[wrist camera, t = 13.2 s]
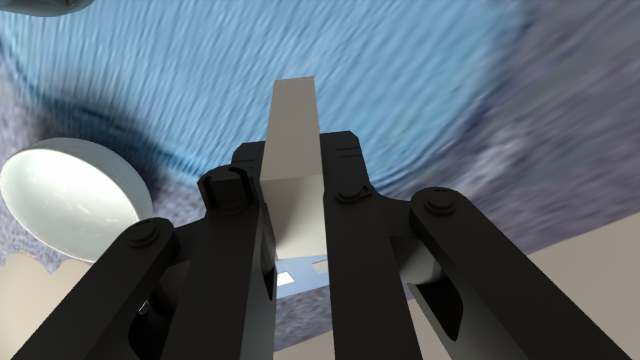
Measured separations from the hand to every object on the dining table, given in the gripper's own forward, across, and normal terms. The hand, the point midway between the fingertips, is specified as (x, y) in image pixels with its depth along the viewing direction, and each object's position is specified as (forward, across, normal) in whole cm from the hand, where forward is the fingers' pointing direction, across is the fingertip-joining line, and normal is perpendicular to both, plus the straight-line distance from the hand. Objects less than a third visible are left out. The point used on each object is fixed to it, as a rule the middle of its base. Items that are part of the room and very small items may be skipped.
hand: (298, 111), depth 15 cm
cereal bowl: (+28, -28, -19) cm, 44 cm away
